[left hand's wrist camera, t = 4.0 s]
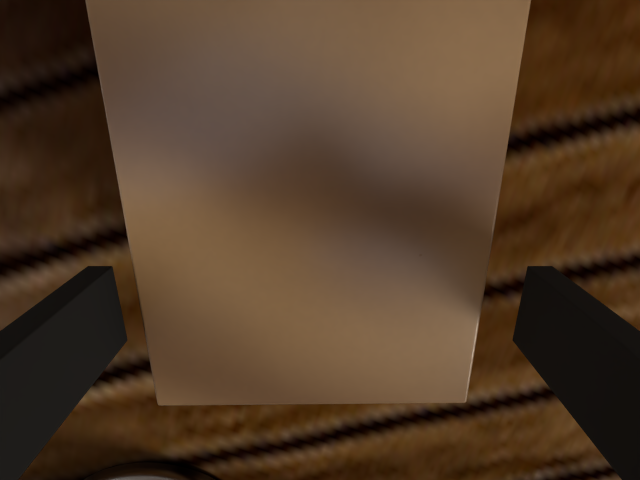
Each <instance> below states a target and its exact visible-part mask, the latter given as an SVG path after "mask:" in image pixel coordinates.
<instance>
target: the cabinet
mask: <svg viewBox="0 0 640 480" xmlns="http://www.w3.org/2000/svg"><path fill="white" fill-rule="evenodd" d="M85 1H86V7H87V12H88V18H89V23H90V29H91V35H92V40H93V46H94V51H95V57H96V62H97V68H98V74H99V79H100V85H101V90H102V96H103V102H104V107H105V113H106V118H107V124H108V130H109V135H110V141H111V146H112V152H113V157H114V163H115V169H116V174H117V180H118V185H119V191H120V197H121V202H122V208H123V213H124V219H125V225H126V230H127V236H128V241H129V247H130V253H131V258H132V264H133V269H134V275H135V280H136V286H137V292H138V297H139V303H140V308H141V314H142V320H143V325H144V331H145V336H146V342H147V348H148V353H149V359H150V364H151V370H152V375H153V381H154V387H155V392H156V398H157V403H158V405H263V404H374V403H465V402H466V400H467V394H468V388H469V382H470V375H471V369H472V363H473V357H474V350H475V344H476V338H477V332H478V325H479V319H480V313H481V307H482V301H483V294H484V288H485V282H486V276H487V269H488V263H489V257H490V251H491V245H492V238H493V232H494V226H495V220H496V213H497V207H498V201H499V195H500V188H501V182H502V176H503V170H504V164H505V157H506V151H507V145H508V139H509V132H510V126H511V120H512V114H513V108H514V101H515V95H516V89H517V83H518V76H519V70H520V64H521V58H522V51H523V45H524V39H525V33H526V27H527V20H528V14H529V8H530V2H531V0H85Z"/></svg>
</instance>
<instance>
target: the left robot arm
mask: <svg viewBox="0 0 640 480" xmlns="http://www.w3.org/2000/svg"><path fill="white" fill-rule="evenodd" d="M126 341H127V336H126V331H125V326H124V321H123V316H122V311H121V306H120V302H119V297H118V292H117V287H116V282H115V277H114V272H113V267H112V266H88V267H86V268H85V269H84V270H82V271H81V272H80V273H78V274H77V275H76V276H74V277H73V278H71V279H70V280H69V281H67V282H66V283H65V284H63V285H62V286H61V287H59V288H58V289H57V290H55V291H54V292H53V293H51V294H50V295H49V296H47V297H46V298H45V299H43V300H42V301H40V302H39V303H38V304H36V305H35V306H34V307H32V308H31V309H30V310H28V311H27V312H26V313H24V314H23V315H22V316H20V317H19V318H18V319H16V320H15V321H13V322H12V323H11V324H9V325H8V326H7V327H5V328H4V329H3V330H1V331H0V480H18V479H19V478H20V477H21V475H22V474H23V473H24V471H25V470H26V469H27V468H28V466H29V465H30V464H31V463H32V461H33V460H34V459H35V457H36V456H37V455H38V454H39V452H40V451H41V450H42V448H43V447H44V446H45V445H46V443H47V442H48V441H49V440H50V438H51V437H52V436H53V434H54V433H55V432H56V431H57V429H58V428H59V427H60V425H61V424H62V423H63V422H64V420H65V419H66V418H67V417H68V415H69V414H70V413H71V411H72V410H73V409H74V408H75V406H76V405H77V404H78V403H79V401H80V400H81V399H82V397H83V396H84V395H85V394H86V392H87V391H88V390H89V388H90V387H91V386H92V385H93V383H94V382H95V381H96V380H97V378H98V377H99V376H100V374H101V373H102V372H103V371H104V369H105V368H106V367H107V366H108V364H109V363H110V362H111V360H112V359H113V358H114V357H115V355H116V354H117V353H118V351H119V350H120V349H121V348H122V346H123V345H124V344H125V343H126ZM513 341H514V343H515V344H516V345H517V346H518V348H519V349H520V350H521V351H522V353H523V354H524V355H525V357H526V358H527V359H528V360H529V362H530V363H531V364H532V366H533V367H534V368H535V369H536V371H537V372H538V373H539V374H540V376H541V377H542V378H543V380H544V381H545V382H546V383H547V385H548V386H549V387H550V388H551V390H552V391H553V392H554V394H555V395H556V396H557V397H558V399H559V400H560V401H561V403H562V404H563V405H564V406H565V408H566V409H567V410H568V411H569V413H570V414H571V415H572V417H573V418H574V419H575V420H576V422H577V423H578V424H579V425H580V427H581V428H582V429H583V431H584V432H585V433H586V434H587V436H588V437H589V438H590V440H591V441H592V442H593V443H594V445H595V446H596V447H597V448H598V450H599V451H600V452H601V454H602V455H603V456H604V457H605V459H606V460H607V461H608V463H609V464H610V465H611V466H612V468H613V469H614V470H615V471H616V473H617V474H618V475H619V477H620V478H621V479H622V480H640V331H639V330H637V329H636V328H635V327H633V326H632V325H631V324H629V323H628V322H627V321H625V320H624V319H622V318H621V317H620V316H618V315H617V314H616V313H614V312H613V311H612V310H610V309H609V308H608V307H606V306H605V305H604V304H602V303H601V302H600V301H598V300H597V299H595V298H594V297H593V296H591V295H590V294H589V293H587V292H586V291H585V290H583V289H582V288H581V287H579V286H578V285H577V284H575V283H574V282H573V281H571V280H570V279H569V278H567V277H566V276H564V275H563V274H562V273H560V272H559V271H558V270H556V269H555V268H554V267H552V266H528V267H527V272H526V277H525V282H524V287H523V292H522V297H521V302H520V306H519V311H518V316H517V321H516V326H515V331H514V336H513ZM84 480H216V479H214V478H212V477H210V476H208V475H205V474H203V473H200V472H198V471H195V470H192V469H189V468H185V467H181V466H177V465H171V464H164V463H149V462H144V463H130V464H123V465H118V466H114V467H110V468H107V469H104V470H101V471H99V472H97V473H95V474H93V475H91V476H89V477H87V478H86V479H84Z"/></svg>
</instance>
